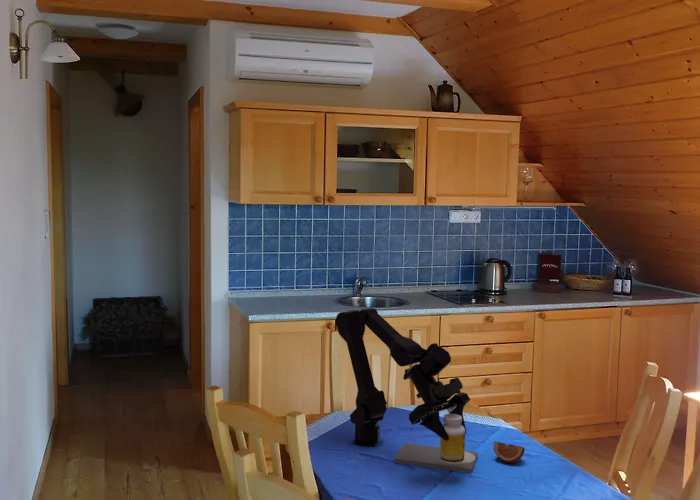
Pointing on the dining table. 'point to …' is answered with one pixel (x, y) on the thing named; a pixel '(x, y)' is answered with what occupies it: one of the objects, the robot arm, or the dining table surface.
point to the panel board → (433, 458)
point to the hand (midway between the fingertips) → (456, 436)
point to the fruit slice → (508, 452)
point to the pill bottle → (453, 440)
